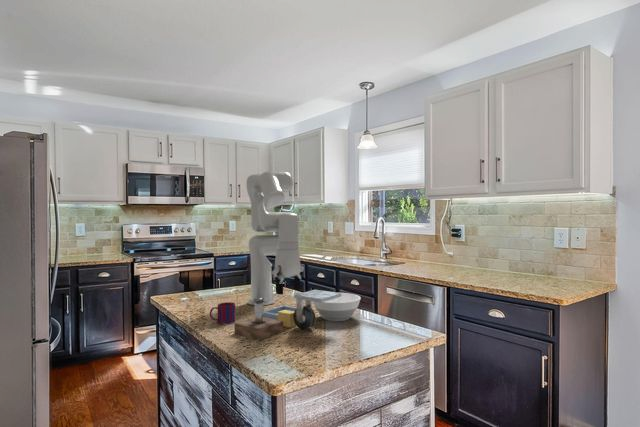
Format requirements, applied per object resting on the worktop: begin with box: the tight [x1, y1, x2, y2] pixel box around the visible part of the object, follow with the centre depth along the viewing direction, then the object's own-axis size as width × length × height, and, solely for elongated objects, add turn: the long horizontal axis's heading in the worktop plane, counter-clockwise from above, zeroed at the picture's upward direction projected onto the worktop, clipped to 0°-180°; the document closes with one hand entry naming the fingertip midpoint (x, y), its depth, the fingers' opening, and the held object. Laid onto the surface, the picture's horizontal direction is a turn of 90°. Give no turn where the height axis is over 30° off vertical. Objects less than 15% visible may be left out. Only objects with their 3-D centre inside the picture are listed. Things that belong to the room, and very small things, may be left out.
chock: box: [278, 310, 296, 328], centre depth 153 cm, size 4×6×5 cm, turn 53°
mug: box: [209, 301, 236, 325], centre depth 157 cm, size 7×10×7 cm
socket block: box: [234, 317, 284, 340], centre depth 143 cm, size 12×12×4 cm
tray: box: [263, 304, 296, 320], centre depth 165 cm, size 14×11×2 cm
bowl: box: [312, 292, 362, 322], centre depth 162 cm, size 19×20×8 cm
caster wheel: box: [293, 289, 342, 331], centre depth 146 cm, size 12×16×13 cm
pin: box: [254, 297, 264, 325], centre depth 143 cm, size 4×4×12 cm
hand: (288, 291), depth 153 cm, fingers open, 9 cm apart
